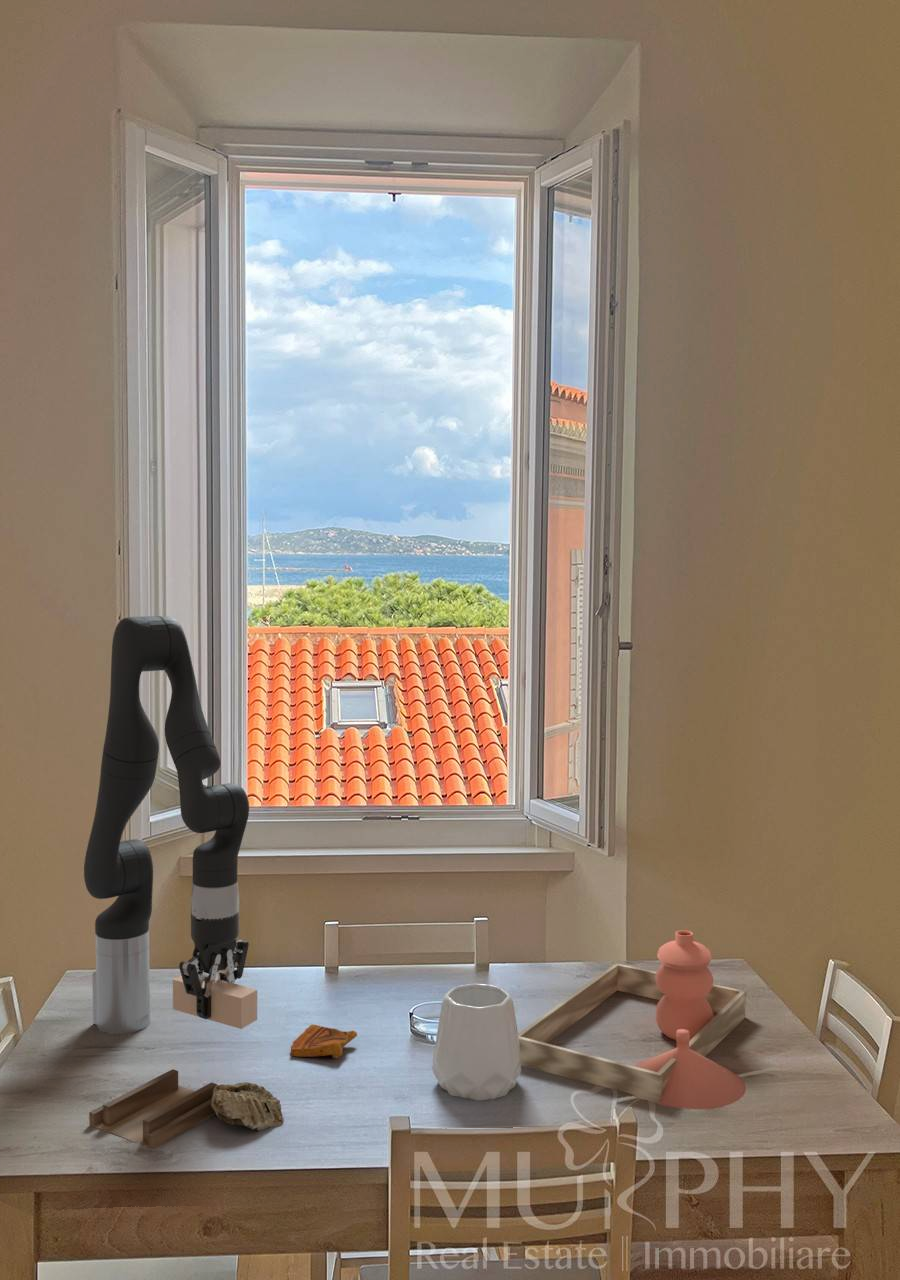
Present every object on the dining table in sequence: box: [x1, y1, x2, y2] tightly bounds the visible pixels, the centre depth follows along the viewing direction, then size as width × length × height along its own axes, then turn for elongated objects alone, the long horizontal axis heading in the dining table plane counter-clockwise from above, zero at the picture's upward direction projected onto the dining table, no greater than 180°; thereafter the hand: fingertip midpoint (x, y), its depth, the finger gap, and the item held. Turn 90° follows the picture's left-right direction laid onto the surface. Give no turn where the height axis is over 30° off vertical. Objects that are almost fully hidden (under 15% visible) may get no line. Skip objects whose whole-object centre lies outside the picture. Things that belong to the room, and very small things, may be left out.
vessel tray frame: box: [518, 963, 747, 1103], centre depth 208 cm, size 26×41×5 cm, turn 148°
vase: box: [431, 983, 522, 1101], centre depth 190 cm, size 14×14×15 cm
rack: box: [88, 1068, 218, 1149], centre depth 179 cm, size 13×16×4 cm
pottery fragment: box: [290, 1024, 358, 1059], centre depth 204 cm, size 10×5×10 cm
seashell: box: [211, 1081, 285, 1132], centre depth 177 cm, size 11×7×10 cm
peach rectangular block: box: [172, 975, 258, 1030], centre depth 192 cm, size 14×4×5 cm, turn 61°
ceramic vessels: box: [634, 929, 747, 1110], centre depth 198 cm, size 35×21×19 cm, turn 168°
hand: (214, 1012), depth 192 cm, fingers closed on peach rectangular block, 4 cm apart
